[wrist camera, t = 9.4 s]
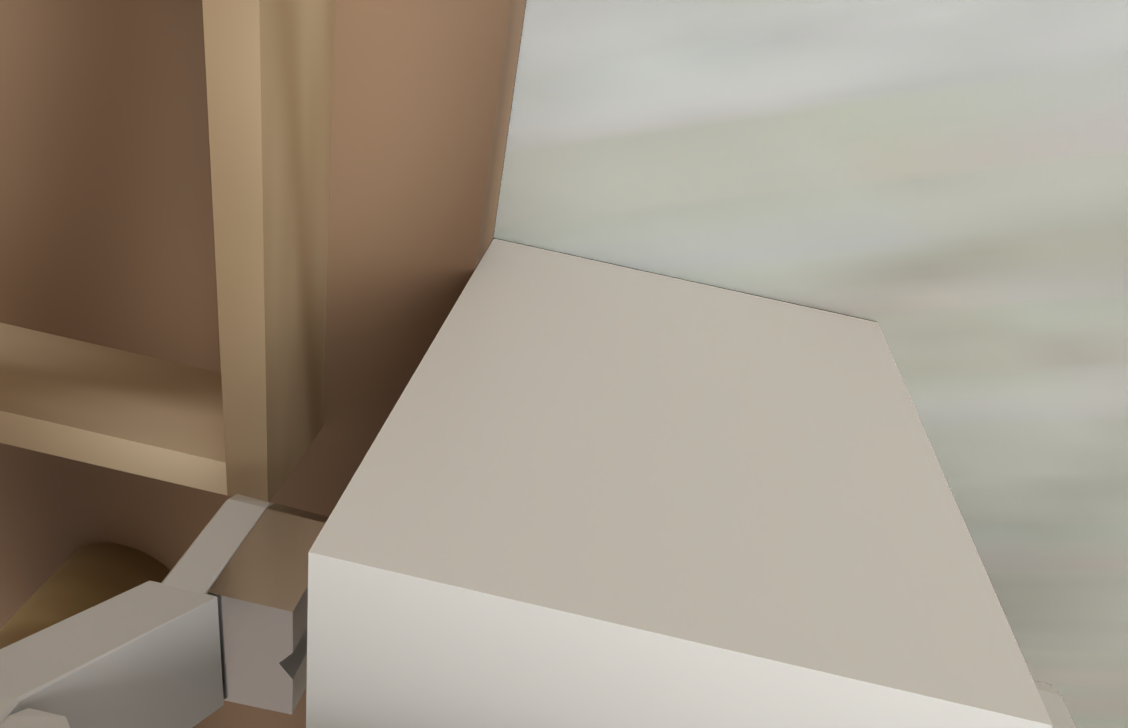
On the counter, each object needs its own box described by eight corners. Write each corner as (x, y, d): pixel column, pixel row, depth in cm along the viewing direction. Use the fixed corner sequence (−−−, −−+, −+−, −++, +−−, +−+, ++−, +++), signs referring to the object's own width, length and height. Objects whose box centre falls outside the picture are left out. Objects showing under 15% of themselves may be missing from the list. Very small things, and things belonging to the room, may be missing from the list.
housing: (877, 322, 12) (1054, 725, 6) (761, 596, 15) (803, 1045, 9) (494, 238, 13) (308, 552, 6) (454, 526, 16) (303, 921, 10)
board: (538, -89, 10) (417, -79, 6) (423, 733, 19) (340, 991, 14) (-356, -275, 11) (-1122, -402, 6) (-66, 615, 19) (-295, 831, 15)
